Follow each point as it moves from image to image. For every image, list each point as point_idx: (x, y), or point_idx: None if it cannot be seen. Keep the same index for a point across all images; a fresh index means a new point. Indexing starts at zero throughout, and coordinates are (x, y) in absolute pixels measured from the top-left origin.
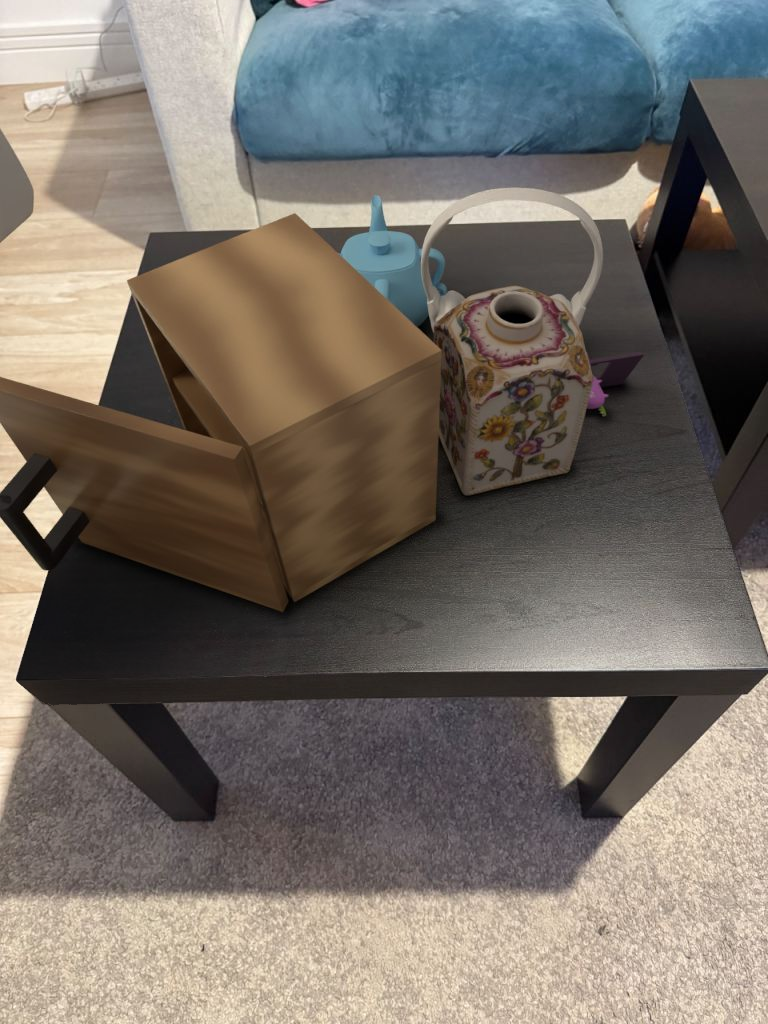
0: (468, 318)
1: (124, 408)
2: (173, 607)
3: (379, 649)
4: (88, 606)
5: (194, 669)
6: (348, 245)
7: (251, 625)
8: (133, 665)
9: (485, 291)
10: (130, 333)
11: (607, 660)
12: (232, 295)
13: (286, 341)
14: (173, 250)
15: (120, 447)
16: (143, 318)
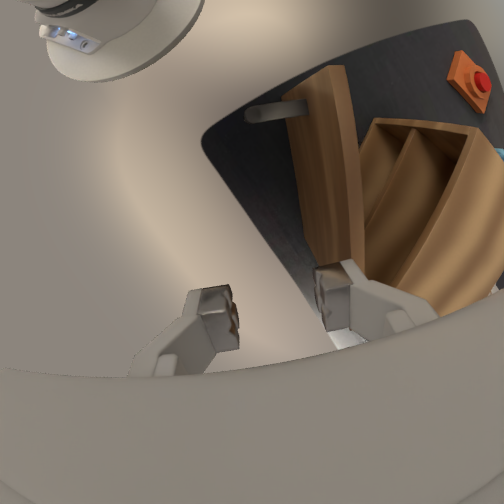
0: None
1: (378, 54)
2: (275, 180)
3: (308, 286)
4: (247, 134)
5: (250, 217)
6: None
7: (289, 227)
8: (233, 186)
9: (490, 292)
10: (421, 28)
11: (339, 348)
12: (481, 224)
13: (449, 288)
14: (472, 30)
15: (338, 219)
16: (452, 131)
